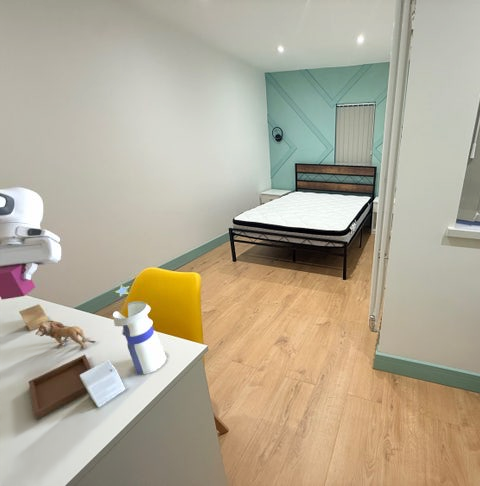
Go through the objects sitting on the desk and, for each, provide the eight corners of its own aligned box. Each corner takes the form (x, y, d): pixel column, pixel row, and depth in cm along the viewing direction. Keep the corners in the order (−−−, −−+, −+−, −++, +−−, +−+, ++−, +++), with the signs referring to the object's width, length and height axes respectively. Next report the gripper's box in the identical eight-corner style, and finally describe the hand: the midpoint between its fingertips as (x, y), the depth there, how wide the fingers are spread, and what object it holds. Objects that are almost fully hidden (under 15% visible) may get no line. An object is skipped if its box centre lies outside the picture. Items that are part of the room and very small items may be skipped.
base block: (30, 330, 89) (22, 316, 87) (26, 325, 92) (18, 311, 90) (50, 322, 93) (42, 308, 91) (46, 317, 96) (38, 304, 93)
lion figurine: (41, 350, 81) (28, 328, 77) (57, 338, 86) (45, 316, 82) (90, 349, 81) (79, 326, 78) (102, 336, 86) (92, 314, 83)
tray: (32, 386, 70) (28, 381, 69) (87, 359, 78) (84, 354, 77) (37, 419, 62) (33, 414, 61) (99, 385, 70) (96, 380, 69)
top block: (1, 299, 73) (-14, 275, 70) (14, 290, 78) (0, 266, 74) (24, 296, 75) (10, 271, 72) (35, 287, 79) (23, 263, 76)
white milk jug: (125, 371, 74) (93, 297, 64) (152, 349, 81) (127, 280, 71) (147, 379, 71) (117, 304, 61) (172, 355, 79) (150, 285, 69)
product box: (117, 378, 72) (108, 358, 69) (126, 389, 68) (117, 369, 66) (89, 395, 67) (78, 374, 64) (97, 408, 64) (86, 387, 61)
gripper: (-40, 238, 73) (-52, 286, 68) (52, 229, 79) (47, 272, 74) (-18, 246, 78) (-28, 291, 74) (66, 237, 84) (62, 278, 80)
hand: (11, 281), depth 74 cm, fingers closed on top block, 5 cm apart
